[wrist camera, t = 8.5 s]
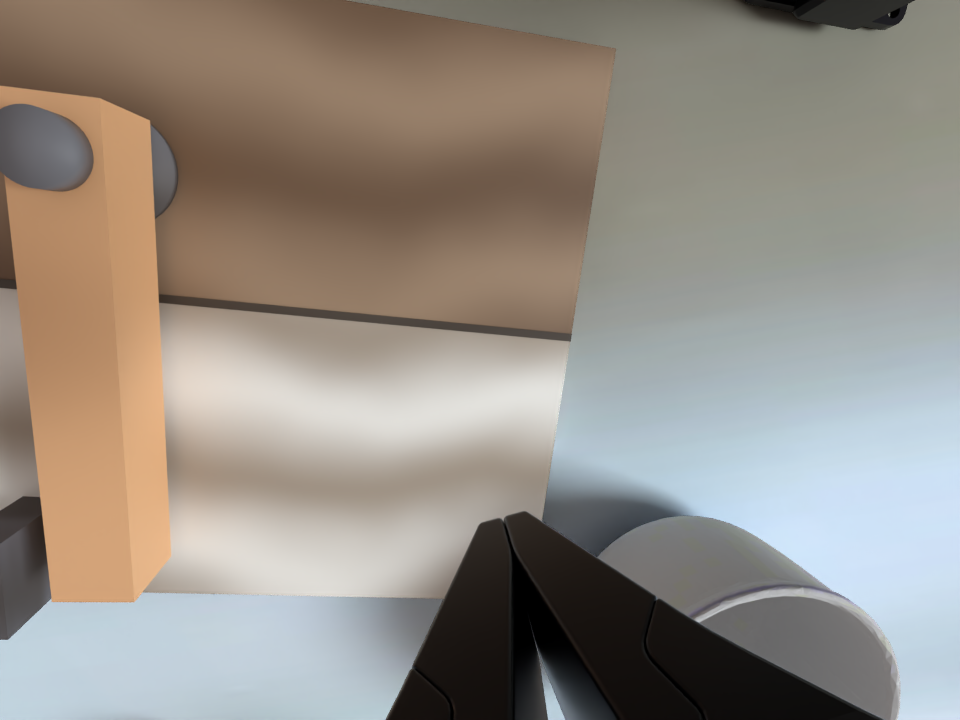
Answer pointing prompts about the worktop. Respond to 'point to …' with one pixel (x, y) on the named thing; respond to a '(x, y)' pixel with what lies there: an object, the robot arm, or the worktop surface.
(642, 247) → the worktop surface
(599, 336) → the worktop surface
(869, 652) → the teacup
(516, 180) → the door and jamb
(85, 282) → the bar
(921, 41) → the worktop surface
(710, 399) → the worktop surface
